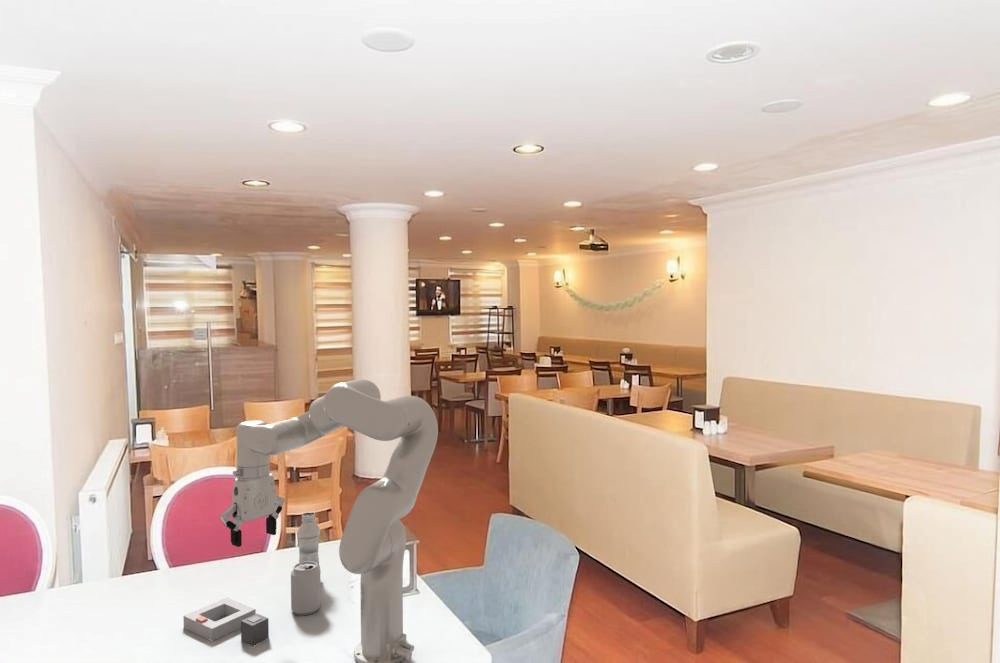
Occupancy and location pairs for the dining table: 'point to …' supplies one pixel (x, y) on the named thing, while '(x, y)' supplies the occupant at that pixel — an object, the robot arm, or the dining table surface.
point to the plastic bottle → (308, 539)
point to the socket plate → (213, 630)
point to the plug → (254, 629)
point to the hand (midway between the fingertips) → (254, 539)
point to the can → (305, 588)
